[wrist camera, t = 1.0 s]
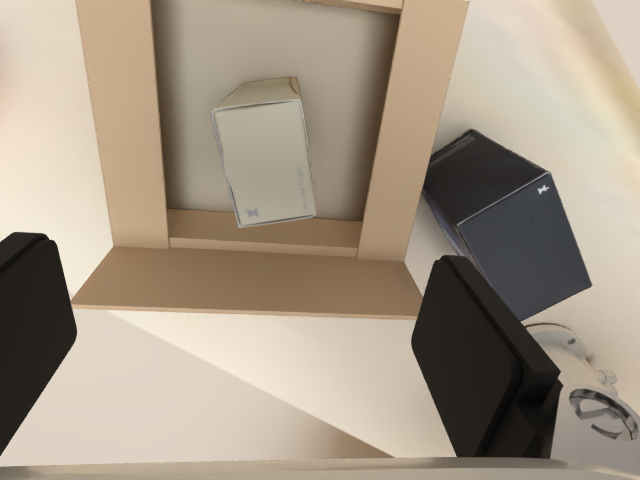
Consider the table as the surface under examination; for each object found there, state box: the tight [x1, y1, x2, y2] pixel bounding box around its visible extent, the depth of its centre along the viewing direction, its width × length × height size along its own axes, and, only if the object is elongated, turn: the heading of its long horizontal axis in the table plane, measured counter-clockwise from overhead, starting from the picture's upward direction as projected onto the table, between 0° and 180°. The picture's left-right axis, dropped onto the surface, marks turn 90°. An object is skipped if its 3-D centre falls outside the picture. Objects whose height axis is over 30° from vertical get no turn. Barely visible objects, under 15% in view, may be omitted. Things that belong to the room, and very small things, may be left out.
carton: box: [70, 0, 469, 320], centre depth 24 cm, size 22×18×12 cm
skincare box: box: [211, 77, 316, 228], centre depth 24 cm, size 6×4×12 cm
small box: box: [421, 130, 592, 322], centre depth 29 cm, size 11×6×10 cm, turn 34°
